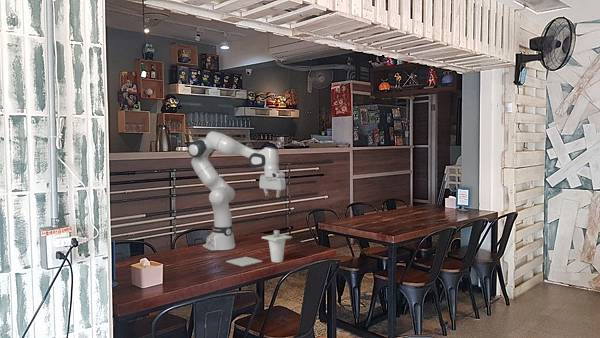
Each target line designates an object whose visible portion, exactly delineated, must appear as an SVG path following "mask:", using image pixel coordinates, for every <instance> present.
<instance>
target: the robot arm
mask: <svg viewBox="0 0 600 338" xmlns="http://www.w3.org/2000/svg"><path fill="white" fill-rule="evenodd" d="M215 151H217V152H219V153H221V154H224V155H229V156H235V155H236V156H243V157H245V158H248V163H249V165H250V167H251V168H254V169H263V171H264V172H263V173H261V174H260V177H259V189H262V190H263V192H264V194H265V197H270V193H269V192H268V191H269V190H273V191H275V190H276V194H275V198H280V195H281V192H282V191H285V190H286V187H287V185H286V178H285V177H286V174H285V172H282V171H281V170H280V167H279V163H280V157H279V156H280V154H279V150H278V148H277V147H274V146H265V147H264V148H262V149H261V150H257V149H255V148H251V147H249V146H247V145H244V144H243V143H241V142H239V141H237V140H236V139H234V138H232V137H230V136H228V135H226V134H224V133H221V132H218V131H212V130H211V131H209V132H208V133H207V134H206V136H205V137H203V138H199V139H197V140H193V141H191V142H190V143H189V144H188V146H187V153H188V155H189V156H190V157H192V158H191V161H190V163H191V166H192V168H193V170H194V172H195V174H196V175H197V177H198V178H199V180H200V181H201V183H202V184H203V185H204V186H205V188H208V189H209V190H210V193H209V195H208V200H209V202H210V203H211V207H212V211H213V212H212V213H213V226H212V227H211V229H212V232H211V233H210V234H208V236H206V242H205V243H204V244H202V248H205V249H207V250H210V251H228V250H229V251H230V250H232V249H235V248H236V246H237V244H236V243H235V236H234V233H233V229H234V228H233V221H232V219H233V218H232V217H233V216H232V215H233V214H232V212H231V210H230V205H229V203H230V202H232V201H233V199H235V195H236V191H235V189H234V188H233V187H232V186H230V185H229V183H227V182H226V181H225V180H224V179H223V178H222V176H220V174H219V173H218V171H217V170H216V168H214V166H213V165H212V163H211V162H210V160H209V157H212V155H213V154H214V152H215Z"/></svg>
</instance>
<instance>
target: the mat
mask: <svg viewBox="0 0 600 338" xmlns="http://www.w3.org/2000/svg"><path fill="white" fill-rule="evenodd" d="M225 262H226V263H229V264H232V265H235V266H240V267H246V266H250V265H255V264H260V263H263V260H261V259H256V258H254V257H248V256H243V257H238V258H233V259H229V260H225Z"/></svg>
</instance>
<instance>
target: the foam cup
mask: <svg viewBox="0 0 600 338" xmlns="http://www.w3.org/2000/svg"><path fill="white" fill-rule="evenodd" d="M267 241H268V246H269V253H270V259H271V262H272V263H282V262H283V261H284V254H285V245H286V239H284V240H280V241H272V240H267Z"/></svg>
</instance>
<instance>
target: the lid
mask: <svg viewBox="0 0 600 338" xmlns="http://www.w3.org/2000/svg"><path fill="white" fill-rule="evenodd" d="M261 239H264V240H266V241H268V240H272V241H280V240H284V239H285V240H289V239H293V237H292V236H290V235H285V234H281V233H280V229H279V230H278V229H275V230H273V234H271V235H265V236H261Z"/></svg>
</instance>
